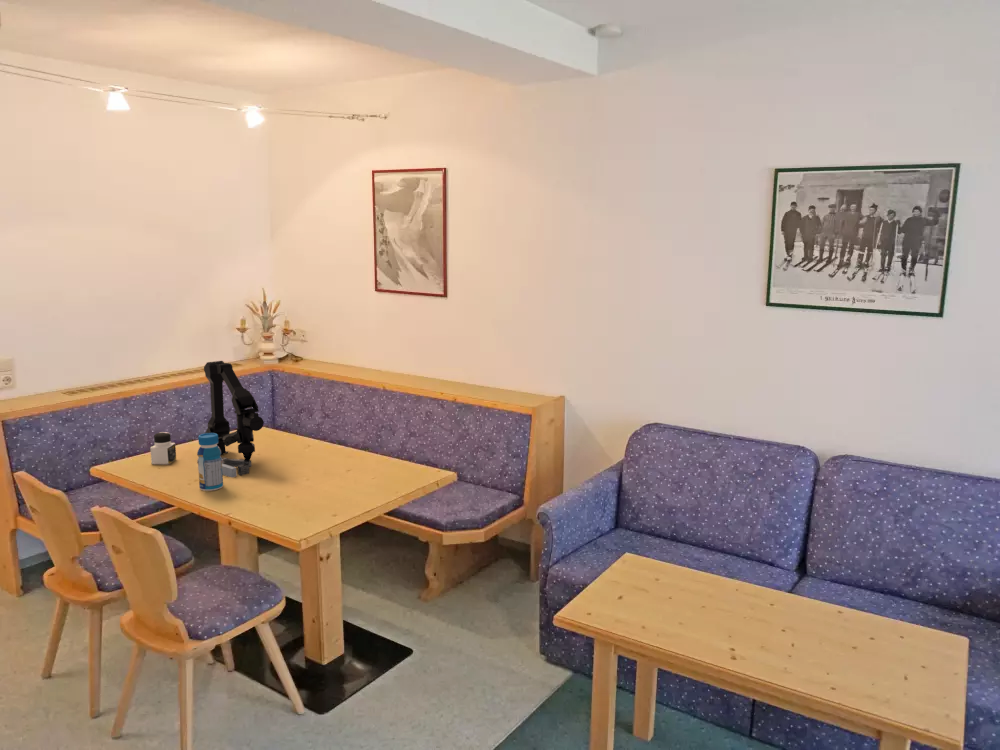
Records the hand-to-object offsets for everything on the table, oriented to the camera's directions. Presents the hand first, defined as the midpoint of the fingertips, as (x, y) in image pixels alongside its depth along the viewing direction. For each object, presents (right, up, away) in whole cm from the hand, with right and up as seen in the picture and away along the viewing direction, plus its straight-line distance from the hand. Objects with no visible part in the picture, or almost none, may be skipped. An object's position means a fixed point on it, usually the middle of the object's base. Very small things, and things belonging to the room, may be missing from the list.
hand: (247, 463), depth 306 cm
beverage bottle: (-5, -6, -24) cm, 26 cm away
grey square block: (+1, -3, -8) cm, 9 cm away
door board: (-9, -3, -6) cm, 11 cm away
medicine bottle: (-36, 0, +6) cm, 36 cm away
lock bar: (-5, -1, -2) cm, 5 cm away
